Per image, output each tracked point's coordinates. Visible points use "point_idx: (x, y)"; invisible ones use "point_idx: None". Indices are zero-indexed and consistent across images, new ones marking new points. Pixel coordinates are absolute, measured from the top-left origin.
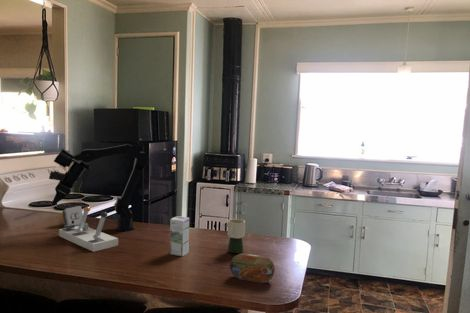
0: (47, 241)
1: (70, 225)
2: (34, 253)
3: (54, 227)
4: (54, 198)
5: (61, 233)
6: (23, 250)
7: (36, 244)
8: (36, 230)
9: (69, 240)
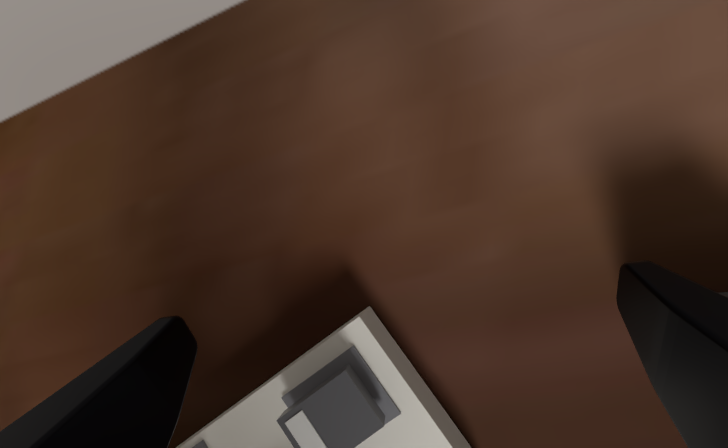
0: (251, 255)
1: (290, 440)
2: (49, 243)
3: (666, 206)
4: (29, 422)
5: (329, 336)
6: (103, 167)
7: (199, 204)
8: (571, 82)
9: (241, 399)
